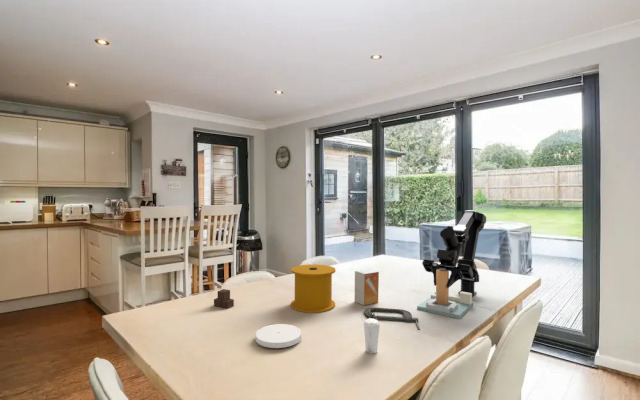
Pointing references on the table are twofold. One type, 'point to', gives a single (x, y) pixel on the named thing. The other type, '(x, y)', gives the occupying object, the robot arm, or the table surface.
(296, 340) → the plastic lid
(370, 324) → the milkshake
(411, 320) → the c clamp
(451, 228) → the robot arm
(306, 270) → the spool
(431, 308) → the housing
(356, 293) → the small box
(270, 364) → the table surface
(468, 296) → the cream block
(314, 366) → the table surface
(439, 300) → the jaw post
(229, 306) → the stack of crates
